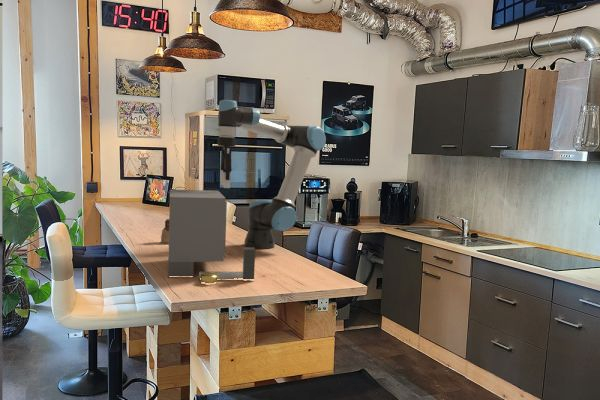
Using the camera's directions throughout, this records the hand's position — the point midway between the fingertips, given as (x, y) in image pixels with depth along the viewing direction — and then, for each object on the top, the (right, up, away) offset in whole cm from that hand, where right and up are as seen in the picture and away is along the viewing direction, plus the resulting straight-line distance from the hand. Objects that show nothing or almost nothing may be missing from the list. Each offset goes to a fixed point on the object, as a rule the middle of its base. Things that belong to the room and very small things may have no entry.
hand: (225, 186), depth 212 cm
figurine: (-33, -27, +30) cm, 52 cm away
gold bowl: (-1, -36, -35) cm, 50 cm away
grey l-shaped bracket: (+5, -35, -30) cm, 47 cm away
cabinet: (-10, -33, -15) cm, 38 cm away
